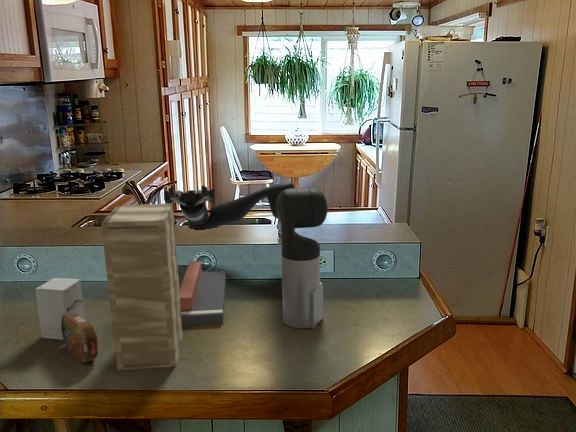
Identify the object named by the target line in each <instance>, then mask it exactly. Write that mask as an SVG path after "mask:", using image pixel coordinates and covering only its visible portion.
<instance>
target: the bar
mask: <svg viewBox="0 0 576 432" xmlns="http://www.w3.org/2000/svg"><path fill="white" fill-rule="evenodd" d="M202 271H203V269H202V261H189V263H188V264H187V268H186V271H185V272H186V273H185V276H184V279H183V282H182V285H181V288H180V305H181V311H189V310H192V309H193V305H194V302H195V298H196V294H197V290H198V286H199V282H200V278H201V274H202Z"/></svg>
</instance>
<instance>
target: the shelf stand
mask: <svg viewBox="0 0 576 432" xmlns="http://www.w3.org/2000/svg"><path fill="white" fill-rule="evenodd" d="M100 225H101V235H102V243H103V251H104V252H103V253H104V262H105V270H106V279H107V280H106V281H107V286H108V288H107V289H108V296H109V297H108V298H109V305H110V307H109V308H110V313H111V323H112V324H111V325H112V333H113V342H114V349H115V357H116V358H115V359H116V367H117V371H126V370H142V369H159V368H173V367H175V368H177V364H178V359H179V355H180V350H181V344H182V340H183V335H184V334H183V325H182V318H181V305H180V291H179V278H178V273H179V267H178V256H177V255H178V254H177V241H176V239H177V238H176V226H175V214H174V202H173V203H168V204H167V203H150V204H149V203H148V204H146V203H145V204H144V203H143V204H119V205H118V204H117V205H116V206H115V207H114V208H113V209H112V210H111V212H110V213H108V215H107V216H106V217H105V218H104V219H103V220H102V221H101V222H100Z"/></svg>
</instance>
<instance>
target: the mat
mask: <svg viewBox="0 0 576 432" xmlns="http://www.w3.org/2000/svg"><path fill="white" fill-rule="evenodd" d="M185 273H186V271H185V272H178V278H179V291H180V288H181V285H182V282H183V279H184V276H185ZM226 274H227V273H226ZM226 274H225V272H202V274H201V278H200V282H199V286H198V290H197V294H196V298H195V302H194V305H193V309H192V310H189V311H181V318H182V326H195V325H199V326H200V325H215V324H218V325H219V324H224V314H225V297H226V283H227V282H226V281H227V280H226V279H227V275H226Z"/></svg>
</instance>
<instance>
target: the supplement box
mask: <svg viewBox="0 0 576 432" xmlns="http://www.w3.org/2000/svg"><path fill="white" fill-rule="evenodd" d="M34 292H35V297H36V306H37V313H38V318H39V325H40V326H39V327H40V333H41V338H42V339H52V340H61V341H64V339H63V335H62V329H61V320H62V317H63V315H68V314H72V313H77V314H79V315H80V316H81V317H82V318H84V319H85V320H86V318H85V308H84V299H83V292H82V285H81V279H80V278H66V277H65V278H62V277H53V278H52V279H49V280H48V281H46V282H45V283H43V284H41V285H40V286H37V287H36V288H35V289H34Z"/></svg>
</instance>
